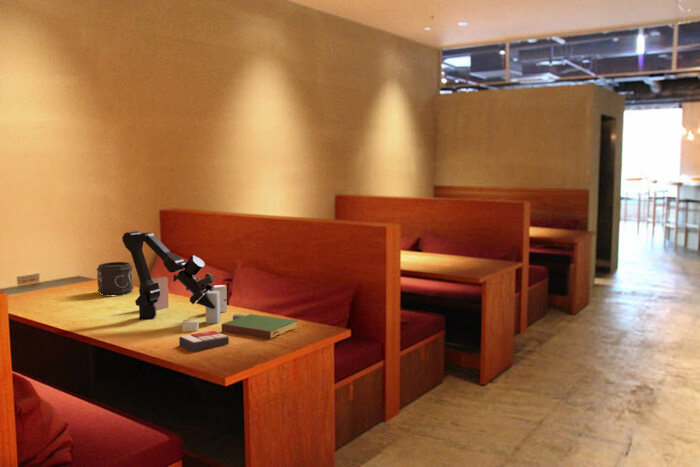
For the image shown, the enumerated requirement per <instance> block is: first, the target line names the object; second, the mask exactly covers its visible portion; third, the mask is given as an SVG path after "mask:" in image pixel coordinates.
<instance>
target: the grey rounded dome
mask: <svg viewBox="0 0 700 467" xmlns="http://www.w3.org/2000/svg"><path fill="white" fill-rule="evenodd" d="M243 316H245V314H242V313H240V314H239V313H238V314H237V313H236V314H233V315H232V320H235V319H237V318H240V317H243Z"/></svg>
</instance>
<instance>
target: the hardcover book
mask: <svg viewBox="0 0 700 467" xmlns="http://www.w3.org/2000/svg"><path fill="white" fill-rule="evenodd" d="M295 327H296V328H297V319H296V320H294V319H289V318H282V317H281V318H280V317H273V316H266V315H259V314H252V313H249V314H247V315H244V316H243V317H240V318H237V319H235V320H233V319H232V320H229V321H227V322H224V323H221V332H222V333H229V334H233V335H239V336H246V337H251V336H252V337H253V338H257V337H258V338H259V339H264V338H267V339H266V340H272V339H273V338H272V337H274V336H276V335H279V334H281V333H283V332H286V331H288V330H290V329H293V328H295ZM293 330H294V329H293ZM288 332H289V331H288ZM286 333H287V332H286ZM281 335H282V334H281ZM279 336H280V335H279ZM276 337H277V336H276ZM271 338H272V339H271ZM274 338H275V337H274Z"/></svg>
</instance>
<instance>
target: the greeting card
mask: <svg viewBox="0 0 700 467" xmlns="http://www.w3.org/2000/svg"><path fill="white" fill-rule="evenodd" d="M151 279H152V281H153V282H154V283H158V285H159V289H160V290H161V291H160V296H159V298H158V301H157V302H156V303H155V306H156V311H160V310H165V309H168V307H170V306H169V285H168V283H169V282H168V281H169V280H168V279H169V278H168V276H158V277H155V276H154V277H151ZM164 308H165V309H164ZM159 309H160V310H159Z"/></svg>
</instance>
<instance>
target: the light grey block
mask: <svg viewBox="0 0 700 467" xmlns="http://www.w3.org/2000/svg"><path fill="white" fill-rule="evenodd" d="M206 293H207V296H208V299H209V300H210V301H211V302H212V304H213V305H214V306H215V308H214V309H212V308H209V307H206V306H205V324H219V323H220V322H221V312H220V291H208V292H206ZM206 293H205V294H206Z"/></svg>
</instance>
